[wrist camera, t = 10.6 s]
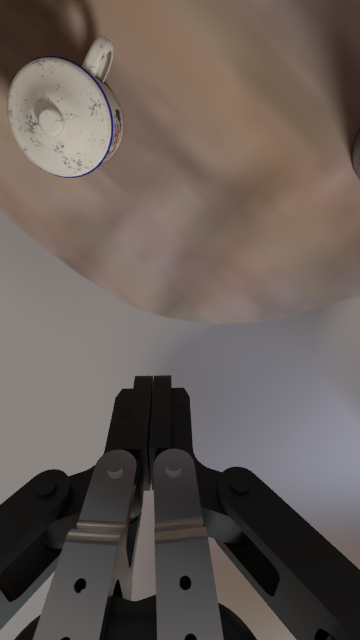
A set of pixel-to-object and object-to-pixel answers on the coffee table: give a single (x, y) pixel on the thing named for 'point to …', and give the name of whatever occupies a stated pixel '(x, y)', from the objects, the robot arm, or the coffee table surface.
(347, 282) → the coffee table surface
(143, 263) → the coffee table surface
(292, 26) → the coffee table surface
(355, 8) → the coffee table surface
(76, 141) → the teacup with lid
